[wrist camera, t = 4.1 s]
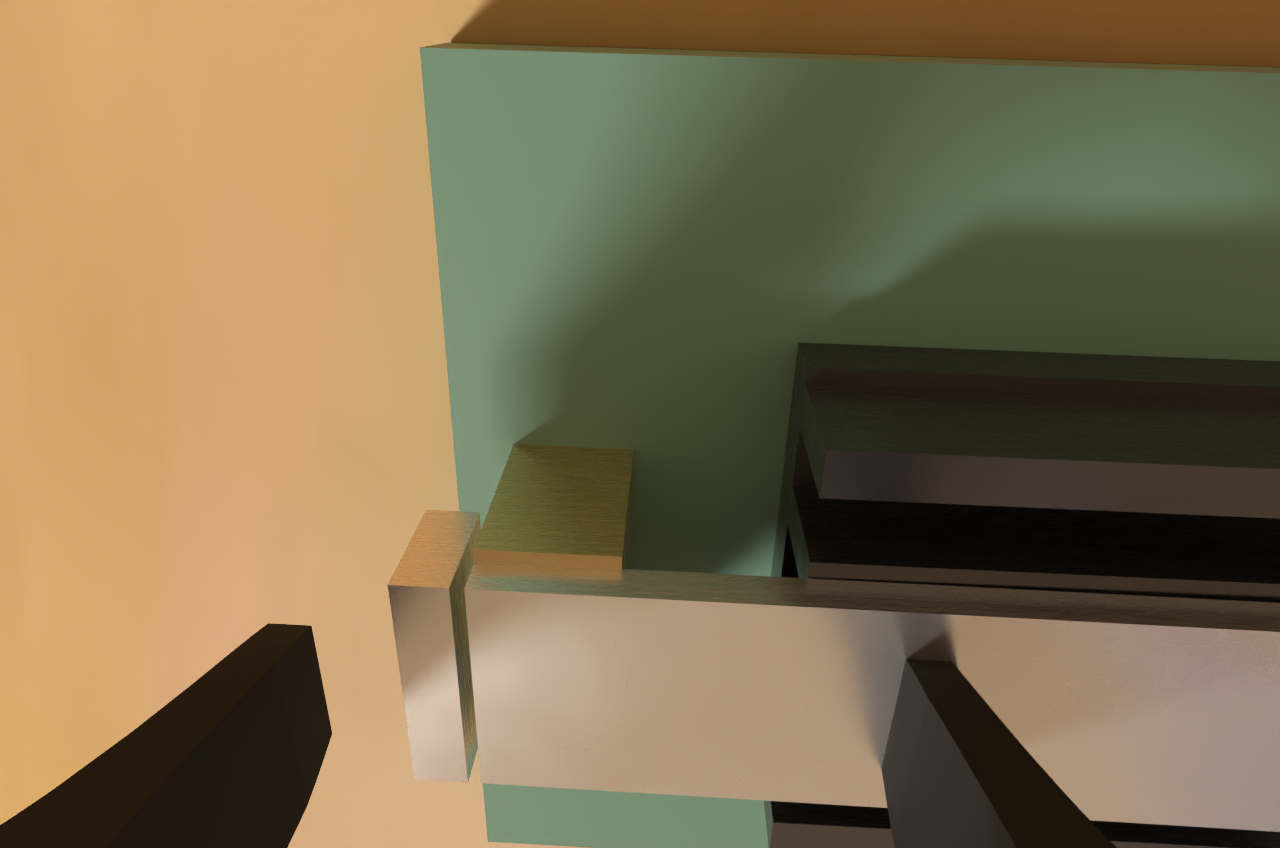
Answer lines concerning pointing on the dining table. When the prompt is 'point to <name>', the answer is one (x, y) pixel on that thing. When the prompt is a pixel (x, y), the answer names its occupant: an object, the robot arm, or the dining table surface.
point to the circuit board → (805, 271)
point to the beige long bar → (824, 683)
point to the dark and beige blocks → (974, 499)
